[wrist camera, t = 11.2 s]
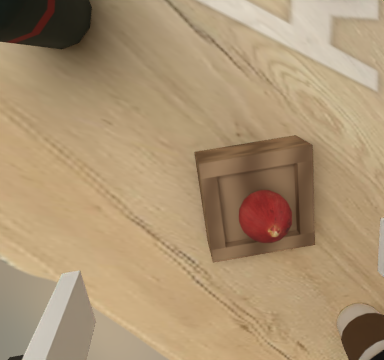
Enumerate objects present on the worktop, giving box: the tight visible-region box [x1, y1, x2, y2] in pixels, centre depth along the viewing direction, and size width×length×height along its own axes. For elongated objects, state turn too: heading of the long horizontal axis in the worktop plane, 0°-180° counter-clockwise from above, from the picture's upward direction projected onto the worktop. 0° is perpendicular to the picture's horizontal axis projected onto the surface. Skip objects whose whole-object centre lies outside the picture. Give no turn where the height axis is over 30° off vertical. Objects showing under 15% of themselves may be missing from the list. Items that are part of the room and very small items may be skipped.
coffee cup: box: [337, 303, 384, 360], centre depth 48 cm, size 11×11×12 cm
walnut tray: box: [195, 135, 315, 262], centre depth 43 cm, size 13×13×5 cm
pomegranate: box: [239, 190, 292, 243], centre depth 37 cm, size 6×6×8 cm
